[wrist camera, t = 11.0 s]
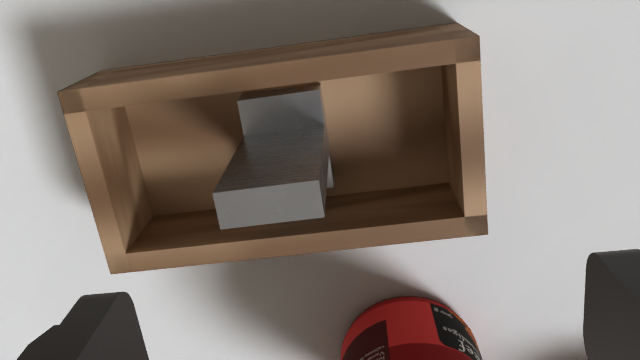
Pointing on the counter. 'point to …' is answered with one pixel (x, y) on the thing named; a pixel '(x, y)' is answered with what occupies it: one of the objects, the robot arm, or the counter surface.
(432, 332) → the canned food
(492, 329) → the counter surface
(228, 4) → the counter surface
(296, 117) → the bracket
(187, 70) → the open wooden box
